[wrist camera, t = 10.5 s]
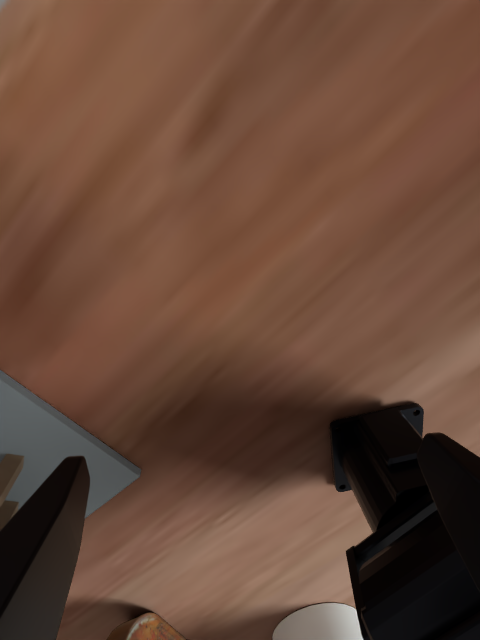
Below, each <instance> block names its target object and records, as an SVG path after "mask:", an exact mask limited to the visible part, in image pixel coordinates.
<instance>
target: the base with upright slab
mask: <svg viewBox="0 0 480 640" xmlns="http://www.w3.org/2000/svg"><path fill="white" fill-rule="evenodd" d="M272 639H273V640H363V638H362V635H361V630H360V625H359V621H358V616H357V611H356V609H354V608H353V607H351V606H348V605H346V604H339V603H322V604H317V605H312V606H308V607H306V608H303V609H300V610H298V611H296V612H294V613H292V614H290V615H289V616H287V617H286V618H285V619H284V620H282V621H281V622H280V623H279V624H278V626H277V627H276V628H275V630H274V633H273V636H272Z"/></svg>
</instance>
